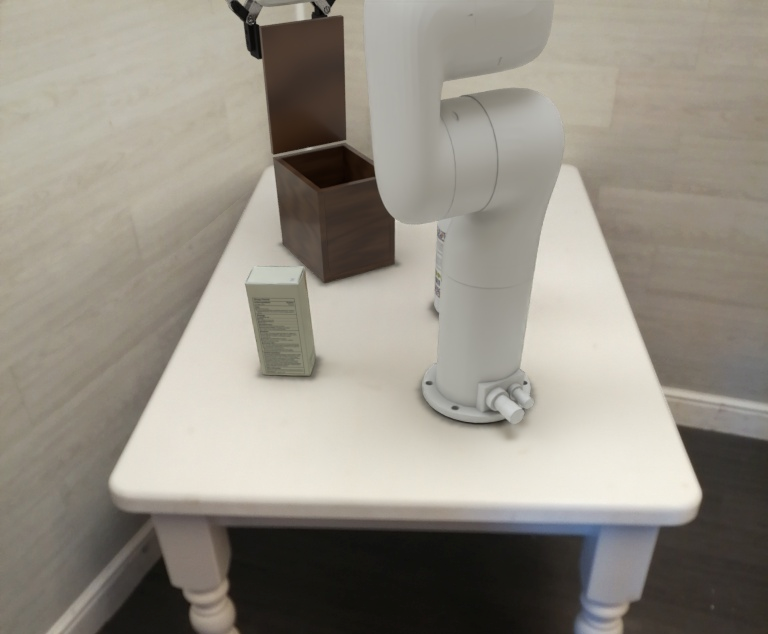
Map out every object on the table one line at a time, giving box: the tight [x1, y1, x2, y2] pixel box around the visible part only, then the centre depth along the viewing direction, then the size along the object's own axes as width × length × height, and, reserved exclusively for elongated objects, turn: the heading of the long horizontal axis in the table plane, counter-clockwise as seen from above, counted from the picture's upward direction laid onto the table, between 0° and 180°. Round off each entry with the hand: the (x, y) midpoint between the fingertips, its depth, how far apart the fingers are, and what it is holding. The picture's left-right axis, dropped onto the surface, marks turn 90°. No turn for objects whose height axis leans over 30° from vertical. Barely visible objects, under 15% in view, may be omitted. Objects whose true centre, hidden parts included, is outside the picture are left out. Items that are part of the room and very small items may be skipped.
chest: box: [272, 142, 396, 284], centre depth 106 cm, size 15×12×13 cm
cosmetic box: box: [244, 265, 317, 377], centre depth 85 cm, size 6×4×12 cm
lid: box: [259, 14, 347, 156], centre depth 101 cm, size 16×12×5 cm
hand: (289, 52), depth 100 cm, fingers open, 9 cm apart
